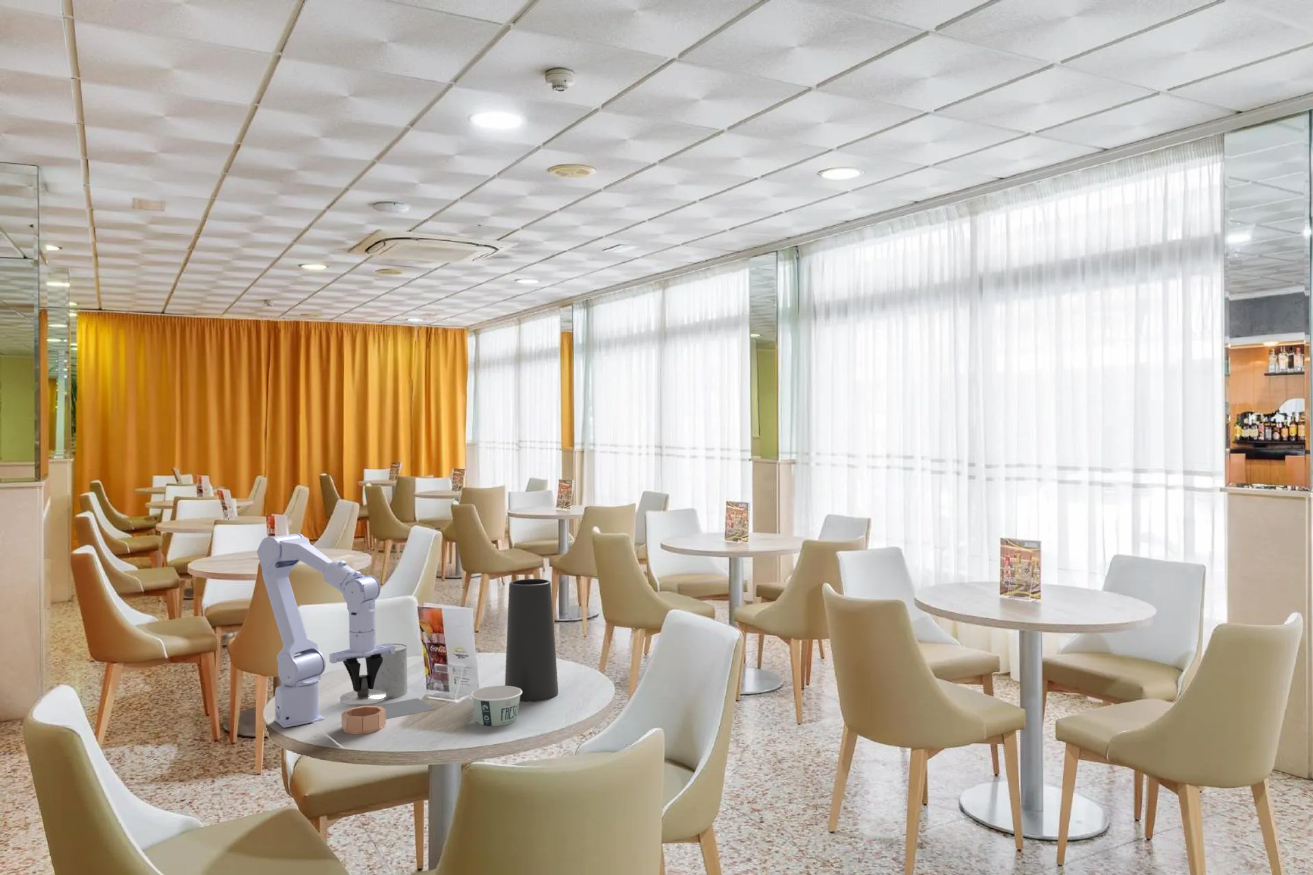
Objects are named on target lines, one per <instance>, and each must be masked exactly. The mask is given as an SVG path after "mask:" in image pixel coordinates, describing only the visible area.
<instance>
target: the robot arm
mask: <svg viewBox="0 0 1313 875" xmlns="http://www.w3.org/2000/svg"><path fill="white" fill-rule="evenodd" d="M256 554H257V557H258V560H259V564H260V567H261V573H262V574H261V575H262V579H263V582H264V586H265V589H266V592H267V593H266V594H267V595H268V599H269V603H270V606H271V610H272V612H273V616H274V619H275V622H276V625H277V629H278V632H279V635H280V640H281V642H282V645H283V646H282V648H281V650H280V651H279V652H278V653H277V656H276V660H277V674H278V678H279V680H280V681H281V682H282V684H283V685H280V686H277V687H276V688H275V691H274V722H276V723H277V724H278V725H280V726H281V727H282V728H283V729H284V728H285V729H286V728H290V727H295V726H300V725H306V724H312V723H314V722H319V721H325V720H326V719H325V717H324V716H323V715H321V714H320V708H319V706H320V703H319V701H320V700H319V698H320V697H319V696H320V695H319V694H320V693H319V692H320V691H319V681H320V680H321V679H322V678H321V676H322V675H323V673H324V672H325V671H326V659H325V656H324V655H323V654H322V652H321V650H320V649H319V646H318V643H316V642H315V641H313V640H311V639H310V638H308V637H307V633H306V630H305V629H306V628H305V626H304V623H303V621H302V616H301V614H300V611H299V606H298V603H297V601H296V598H295V597H296V596H295V593H294V591H293V587H292V584H291V580H290V577H289V575H290V574H291V572H292V570H294V568H295V567H296V566H297V565H298V564H299V563H300V562H302V563H303V564H305V565H308V566H309V567H311V568H313V569H314V570H316V571H317V572H319V573H321V574H322V576H323V577H322V578H323V580H324V582H325V583H327V584H328V585H330V586H332V587H333V588H335V589H336V590H337V591H338V592H340V593H342V597H343V599H344V601H345V602H346V609H347V611H348V621H349V623H348V625H349V627H348V628H349V630H348V633H349V636H348V637H349V640H348V642H349V648H348V649H345V650H340V651H336V652H330V653H329V663H330V664H337V663H339V662H342V663H343V665H344V667H345V668H346V671H347V673H348V674H349V677H350V680H351V685H352V690H353V691H355V692H359V690H360V683H359V675H360V673H361V663H360V662H359V660H358V659H365V665H366V666H365V667H366V675H369V689H370V690H371V689H373V688H374V682H375V678H376V675H377V672H378V670H379V668H380V666H381V664H382V662H383V657H381V655H386V654H395V645H393V644H394V643H388V644H389V645H381V644H377V643H376V641H377V640H376V639H377V638H376V637H377V636H376V630H377V629H376V600H377V599H378V598H379V596H380V593H381V585H380V582H379V580H378V579H377V578H376V577H375V576H374V575H371V574H369V575H365V574H362V572H361V571H359V570H358V571H357V570H356V569H354V568H352V567H351V566H349V565H348V562H347V561H346V560H338V559H337V560H334V561H333V560H332V559H330V558H329V557H328V556H326V555H325V554H324V553H323V552H321V551H320V550H319V549H318V548H316V547H315V546H313V545H312V544H311V543H310V539H309V538H308V537H306V536H304V535H303V534H302V533H298V532H294V533H291V534H284V535H277V536H276V535H275V536H266V537H264V538H262V540H261V542H260V544H259V546H258V547H257V550H256ZM376 645H378V646H376Z"/></svg>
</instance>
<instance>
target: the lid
mask: <svg viewBox="0 0 1313 875" xmlns="http://www.w3.org/2000/svg"><path fill="white" fill-rule="evenodd" d="M359 683H360V690H359V692H355V691H354V690H353V691H349V692H345V693H343V694H342V695H341V696H340V700H339V701H340V703H341V704H342V705H347V706H357V707H359V706H370V705H373V704H378V703H381V702H383V701H384V700H387V699H386V692H384V691H382V690H376V689H371V690H370V689H369V675H367V674H359Z"/></svg>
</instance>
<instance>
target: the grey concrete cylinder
mask: <svg viewBox="0 0 1313 875" xmlns="http://www.w3.org/2000/svg"><path fill="white" fill-rule="evenodd" d="M389 644H390V643H384V644H382V643H381V644H380V645H389ZM392 644H393V645H395V654H386V655H381V657H383V662H382V664H381V666H380V668H379V670H378V672H377V675H376V678H375V682H374V688H373V689H376V690H382V691H384V692H386V699H385V700H388V699H390V700H391V699H396V698H400V697H403V696H406V695H407V694H408V645H407V644H404V643H392ZM378 645H379V644H376V646H378Z"/></svg>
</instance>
